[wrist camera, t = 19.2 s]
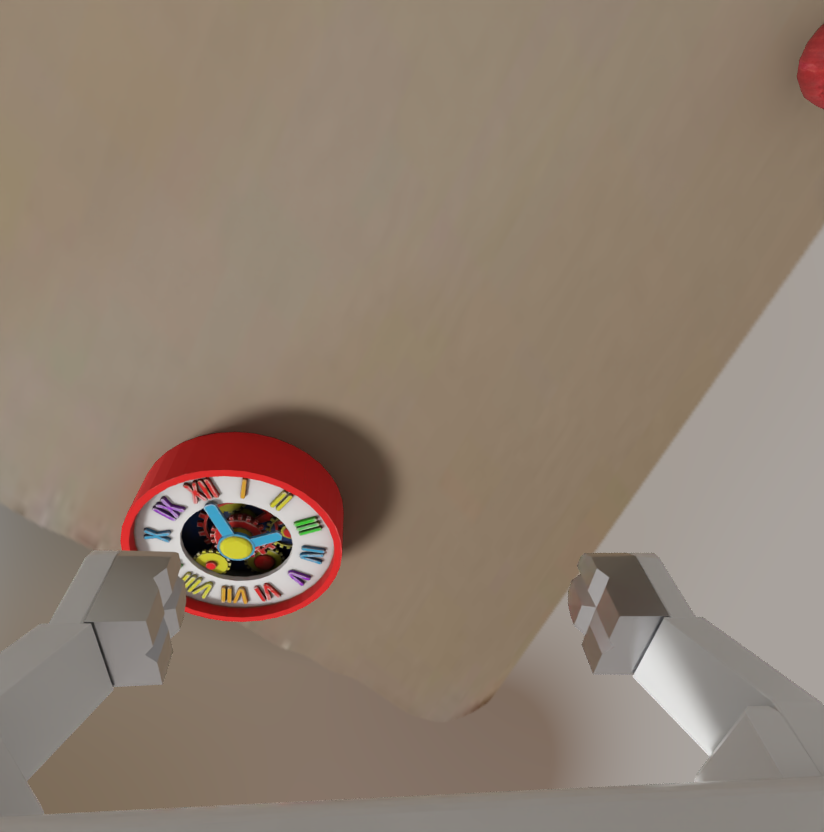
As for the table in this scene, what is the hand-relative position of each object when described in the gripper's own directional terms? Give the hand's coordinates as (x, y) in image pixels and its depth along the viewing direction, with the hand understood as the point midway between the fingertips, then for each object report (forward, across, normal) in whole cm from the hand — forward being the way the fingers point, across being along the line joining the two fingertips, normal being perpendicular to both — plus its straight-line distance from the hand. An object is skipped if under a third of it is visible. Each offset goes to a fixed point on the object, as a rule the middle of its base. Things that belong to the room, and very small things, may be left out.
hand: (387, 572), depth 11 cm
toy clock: (+36, +11, +31) cm, 48 cm away
